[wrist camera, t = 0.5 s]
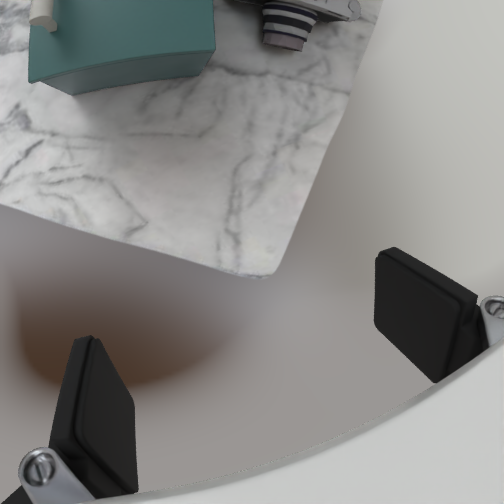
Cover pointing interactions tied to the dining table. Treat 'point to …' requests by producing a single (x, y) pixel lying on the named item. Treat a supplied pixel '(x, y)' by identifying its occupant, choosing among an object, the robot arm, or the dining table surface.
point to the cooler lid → (114, 32)
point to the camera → (300, 18)
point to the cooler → (130, 73)
